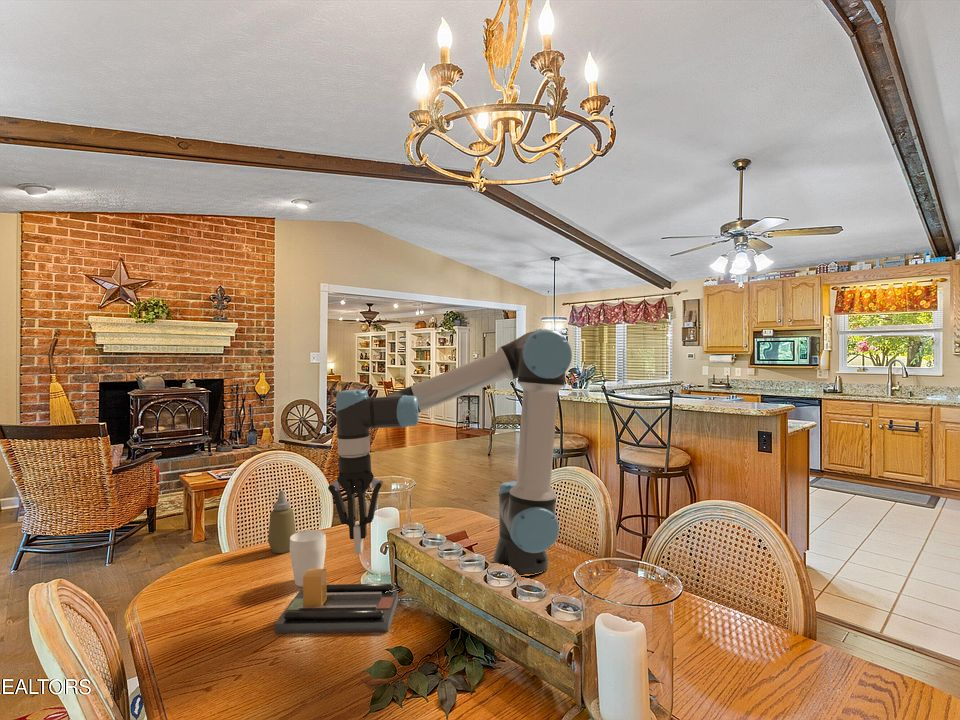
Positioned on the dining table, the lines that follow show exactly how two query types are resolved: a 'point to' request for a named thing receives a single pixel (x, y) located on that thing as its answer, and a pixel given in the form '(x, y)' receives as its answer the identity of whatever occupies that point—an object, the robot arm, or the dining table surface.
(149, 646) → the dining table surface
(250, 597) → the dining table surface
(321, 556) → the cup
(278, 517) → the squeeze bottle
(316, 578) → the amber wood post
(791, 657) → the dining table surface
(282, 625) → the panel
